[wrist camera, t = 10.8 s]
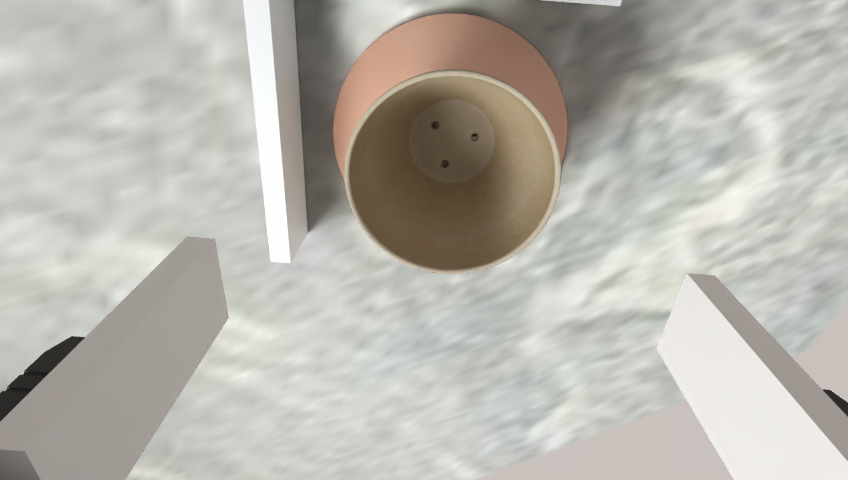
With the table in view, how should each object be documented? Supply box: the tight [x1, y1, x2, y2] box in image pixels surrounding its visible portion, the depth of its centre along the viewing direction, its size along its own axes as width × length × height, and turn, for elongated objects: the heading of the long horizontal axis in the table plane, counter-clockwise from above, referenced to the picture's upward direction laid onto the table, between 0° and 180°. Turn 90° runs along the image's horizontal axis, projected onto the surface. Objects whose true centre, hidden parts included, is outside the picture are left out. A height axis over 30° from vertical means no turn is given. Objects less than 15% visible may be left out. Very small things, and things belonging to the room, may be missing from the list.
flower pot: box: [344, 69, 561, 274], centre depth 24 cm, size 10×10×7 cm
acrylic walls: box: [243, 0, 622, 263], centre depth 26 cm, size 16×17×4 cm
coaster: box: [333, 13, 568, 181], centre depth 28 cm, size 14×14×1 cm
